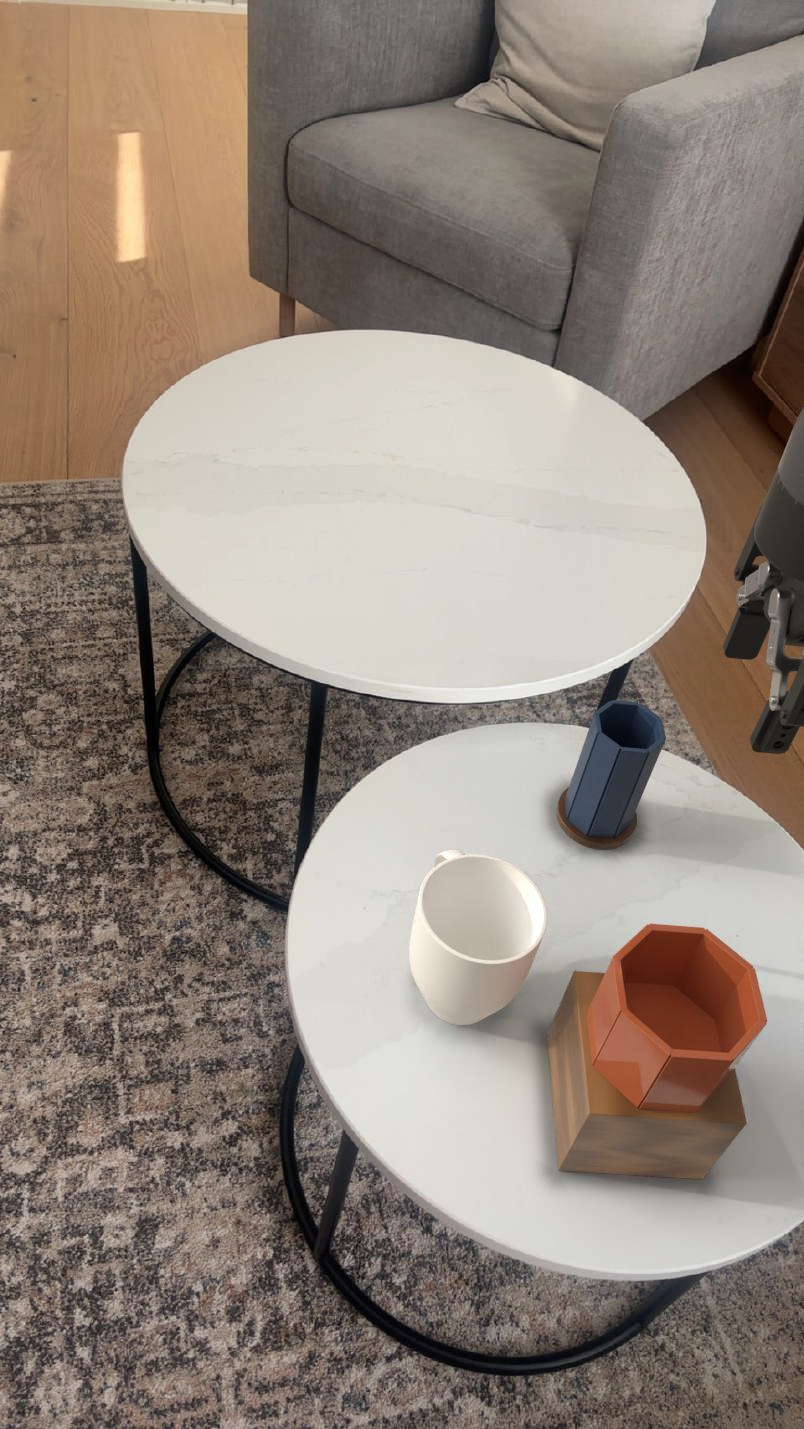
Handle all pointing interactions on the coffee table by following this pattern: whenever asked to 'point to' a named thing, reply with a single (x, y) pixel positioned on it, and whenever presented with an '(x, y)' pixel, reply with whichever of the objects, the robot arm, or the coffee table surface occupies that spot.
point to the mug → (474, 935)
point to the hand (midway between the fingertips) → (751, 699)
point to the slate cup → (614, 768)
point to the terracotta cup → (673, 1017)
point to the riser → (626, 1109)
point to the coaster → (586, 839)
